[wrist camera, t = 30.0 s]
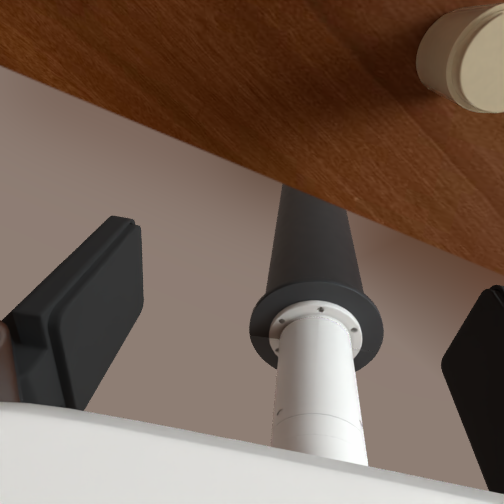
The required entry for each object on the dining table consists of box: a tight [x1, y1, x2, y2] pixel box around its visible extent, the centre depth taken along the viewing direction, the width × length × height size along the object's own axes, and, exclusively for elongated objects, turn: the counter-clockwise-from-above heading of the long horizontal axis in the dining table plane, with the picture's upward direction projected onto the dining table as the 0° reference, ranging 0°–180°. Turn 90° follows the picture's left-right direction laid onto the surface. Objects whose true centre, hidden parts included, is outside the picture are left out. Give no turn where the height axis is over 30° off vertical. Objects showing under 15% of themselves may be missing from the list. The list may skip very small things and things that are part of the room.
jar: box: [416, 3, 504, 113], centre depth 26 cm, size 6×6×10 cm
